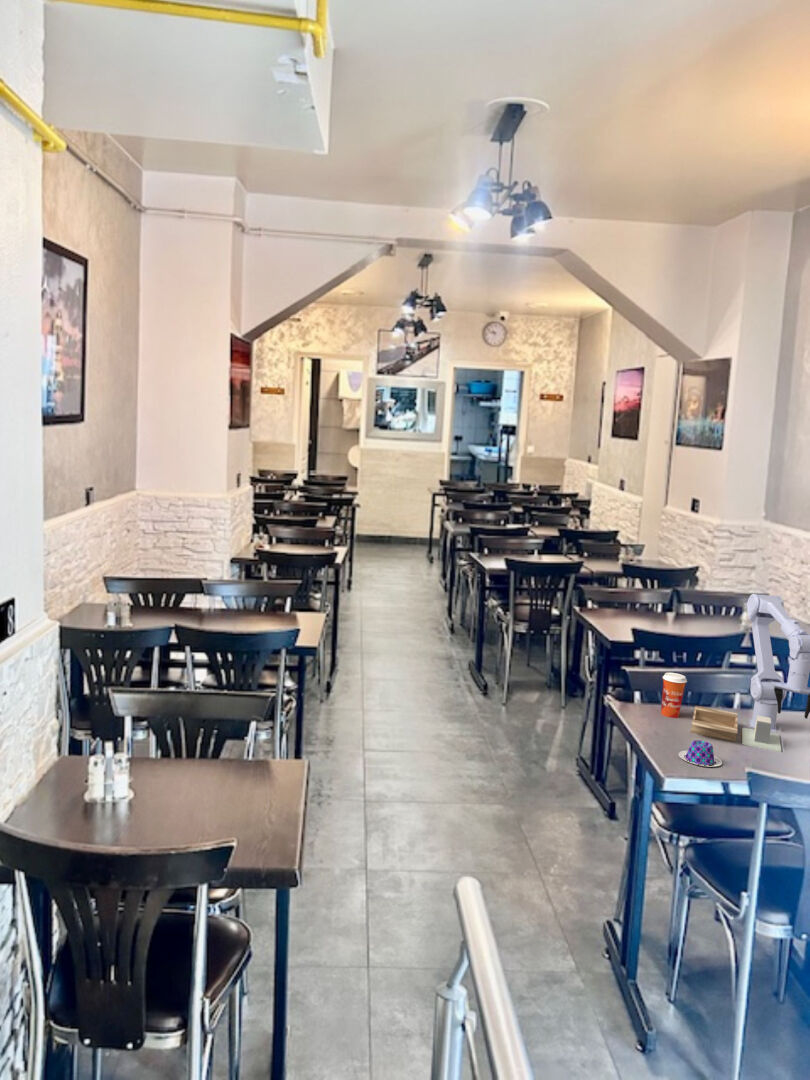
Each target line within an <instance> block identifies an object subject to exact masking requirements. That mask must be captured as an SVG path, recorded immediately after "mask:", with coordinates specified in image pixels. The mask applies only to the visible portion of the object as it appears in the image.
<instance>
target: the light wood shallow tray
mask: <svg viewBox="0 0 810 1080" xmlns="http://www.w3.org/2000/svg"><path fill="white" fill-rule="evenodd" d="M738 714H739V713H736V712H733V711H732V712H731V711H726V710H723V709H722V710H721V709H717V708H712V707H711V708H710V707H704V706H699V705H695V706H694V711H693V717H692V722H691V729H690V730H691V731H690V733H692V734H698V735H701V736H706V737H712V738H716V739H721V740H726V741H731V742H732V741H733V742H736V741H737V734H738V721H739V719H738V718H739V717H738Z"/></svg>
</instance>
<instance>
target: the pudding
mask: <svg viewBox="0 0 810 1080" xmlns="http://www.w3.org/2000/svg"><path fill="white" fill-rule="evenodd" d="M689 744H690V745H689V747H688V749H687V750H681V751H680V752H678V756H679V757H680V759H682V760H684V761H685V762H688V763H690V764H694V765H697V766H701V767H705V766H704V765H707V767H708V768H709V767H720V766H722V765H723V761H722V760H721V759H720V758H719V757H717V756H716V755H715V754H714V748H713V744H711V743H710V742H708V741H704V740H693V741H692V742H691V743H689ZM684 755H686V756H685V757H686V759H687V760H689V761H691V762H689V761H687V760H686V759H685V758H684ZM714 758H715V760H717V761H718V764H717V765H714V766H708V765H710V764H714V763H715V761H714ZM696 763H697V764H696ZM698 764H704V765H698Z"/></svg>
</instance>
